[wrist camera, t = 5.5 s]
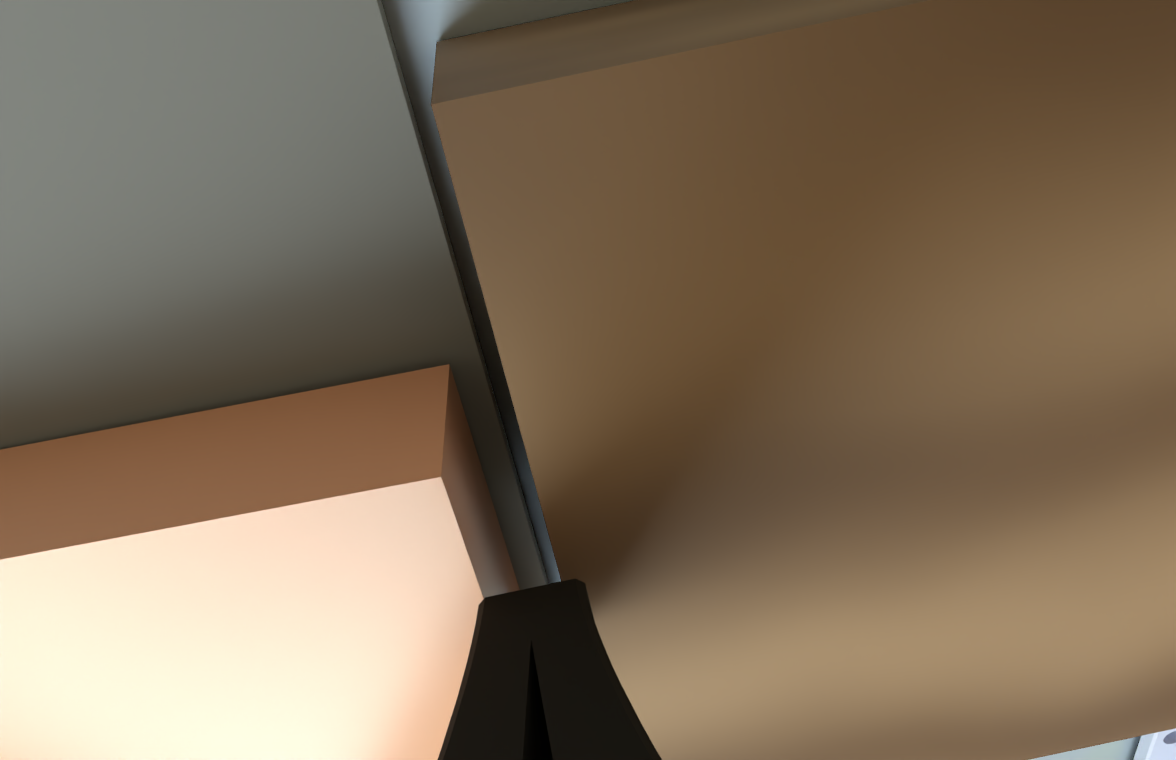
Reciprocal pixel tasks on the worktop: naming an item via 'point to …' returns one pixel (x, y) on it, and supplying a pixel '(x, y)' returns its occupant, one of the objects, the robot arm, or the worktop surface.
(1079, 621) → the brown wooden flat slab
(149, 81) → the mat
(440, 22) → the worktop surface
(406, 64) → the worktop surface
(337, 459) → the tile
